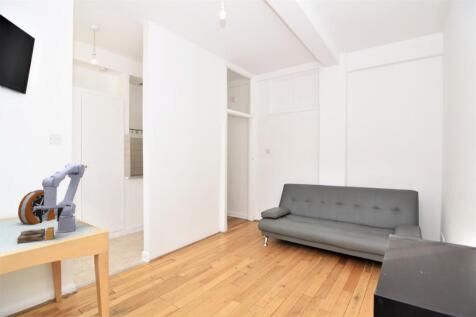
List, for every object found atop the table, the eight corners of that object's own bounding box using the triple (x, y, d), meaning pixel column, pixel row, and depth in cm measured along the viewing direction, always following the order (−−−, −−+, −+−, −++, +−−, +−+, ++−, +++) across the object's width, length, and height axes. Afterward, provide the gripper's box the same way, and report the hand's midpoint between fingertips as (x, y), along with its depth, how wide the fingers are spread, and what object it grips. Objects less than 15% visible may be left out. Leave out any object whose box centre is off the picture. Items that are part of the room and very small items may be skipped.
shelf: (45, 233, 148) (45, 225, 148) (41, 240, 135) (41, 232, 135) (23, 235, 143) (23, 227, 142) (17, 243, 130) (17, 235, 130)
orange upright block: (53, 236, 143) (53, 226, 143) (52, 239, 137) (52, 230, 137) (47, 236, 142) (47, 227, 142) (45, 240, 136) (45, 230, 136)
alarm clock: (29, 226, 161) (30, 192, 161) (17, 225, 163) (17, 191, 163) (59, 218, 183) (59, 188, 183) (47, 217, 184) (48, 187, 184)
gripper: (32, 200, 132) (31, 224, 132) (65, 198, 140) (64, 222, 139) (35, 198, 138) (34, 222, 138) (66, 196, 146) (65, 219, 146)
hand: (49, 221), depth 139 cm, fingers open, 7 cm apart
